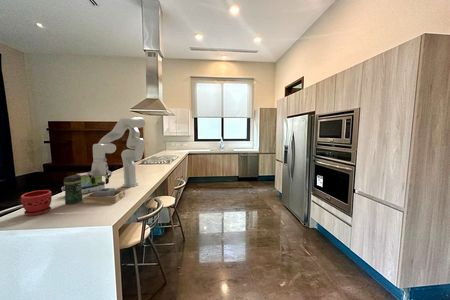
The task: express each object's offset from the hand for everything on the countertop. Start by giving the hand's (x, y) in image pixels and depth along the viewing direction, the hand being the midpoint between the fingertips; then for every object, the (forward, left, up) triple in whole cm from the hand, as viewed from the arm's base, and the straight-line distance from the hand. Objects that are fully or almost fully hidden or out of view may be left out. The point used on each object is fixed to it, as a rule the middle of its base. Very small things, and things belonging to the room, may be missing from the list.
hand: (100, 183), depth 151 cm
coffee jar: (+14, -10, -9) cm, 19 cm away
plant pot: (+30, -20, -9) cm, 37 cm away
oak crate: (+12, +9, -9) cm, 18 cm away
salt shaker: (-1, 0, -9) cm, 9 cm away
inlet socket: (+12, +9, -8) cm, 18 cm away
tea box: (-14, -16, -9) cm, 23 cm away
